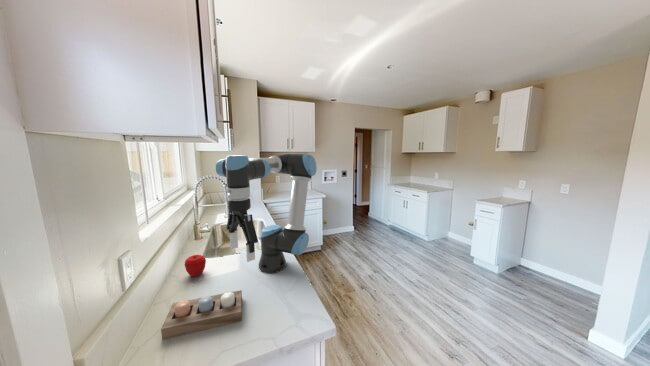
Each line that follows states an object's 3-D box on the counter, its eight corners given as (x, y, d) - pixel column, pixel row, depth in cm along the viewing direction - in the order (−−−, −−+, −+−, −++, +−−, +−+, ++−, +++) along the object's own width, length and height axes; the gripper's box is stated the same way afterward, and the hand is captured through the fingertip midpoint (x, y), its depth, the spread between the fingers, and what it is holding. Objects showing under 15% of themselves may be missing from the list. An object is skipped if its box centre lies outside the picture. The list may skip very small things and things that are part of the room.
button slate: (200, 309, 90) (199, 297, 89) (214, 306, 92) (213, 295, 91) (198, 317, 86) (197, 305, 85) (212, 314, 87) (211, 303, 86)
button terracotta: (177, 313, 88) (176, 302, 87) (192, 310, 89) (191, 299, 88) (173, 323, 83) (172, 310, 82) (189, 319, 85) (188, 307, 84)
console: (174, 311, 91) (173, 303, 91) (241, 298, 100) (241, 290, 99) (162, 339, 78) (160, 329, 78) (241, 320, 87) (240, 311, 86)
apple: (210, 272, 120) (209, 253, 119) (193, 281, 112) (191, 261, 110) (199, 267, 125) (197, 249, 123) (181, 276, 116) (179, 256, 115)
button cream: (222, 304, 93) (221, 293, 92) (235, 301, 94) (234, 291, 94) (221, 312, 88) (220, 301, 87) (234, 309, 90) (234, 298, 89)
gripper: (215, 194, 86) (219, 246, 90) (245, 206, 69) (248, 270, 72) (234, 192, 92) (237, 241, 95) (266, 202, 75) (269, 262, 78)
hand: (242, 254), depth 84 cm, fingers open, 13 cm apart
